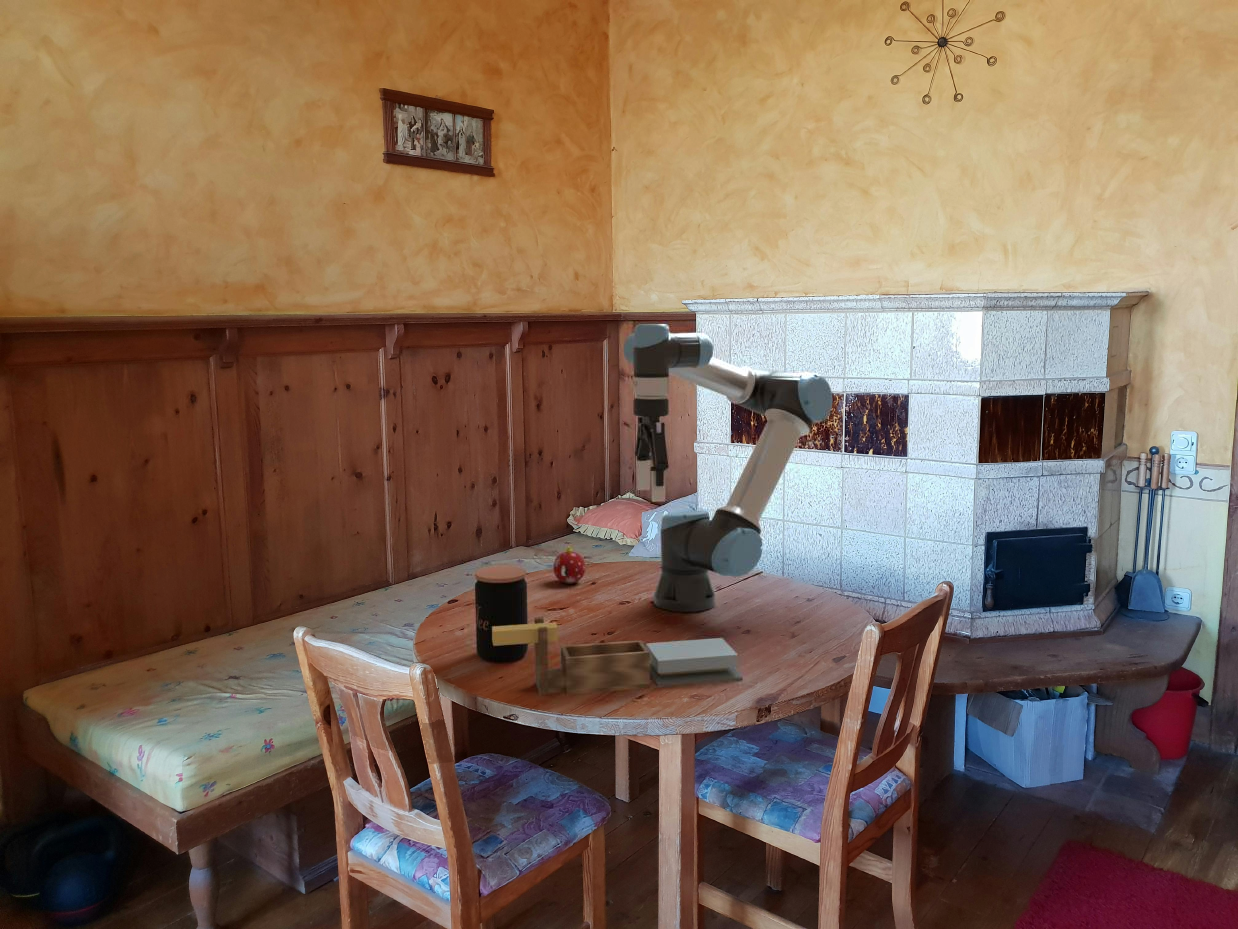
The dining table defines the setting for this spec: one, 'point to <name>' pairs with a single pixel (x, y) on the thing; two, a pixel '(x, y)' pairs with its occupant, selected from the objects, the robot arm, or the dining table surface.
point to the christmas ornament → (569, 567)
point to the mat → (694, 677)
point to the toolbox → (591, 666)
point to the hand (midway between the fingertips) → (650, 495)
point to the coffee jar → (500, 610)
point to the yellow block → (522, 633)
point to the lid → (692, 656)
